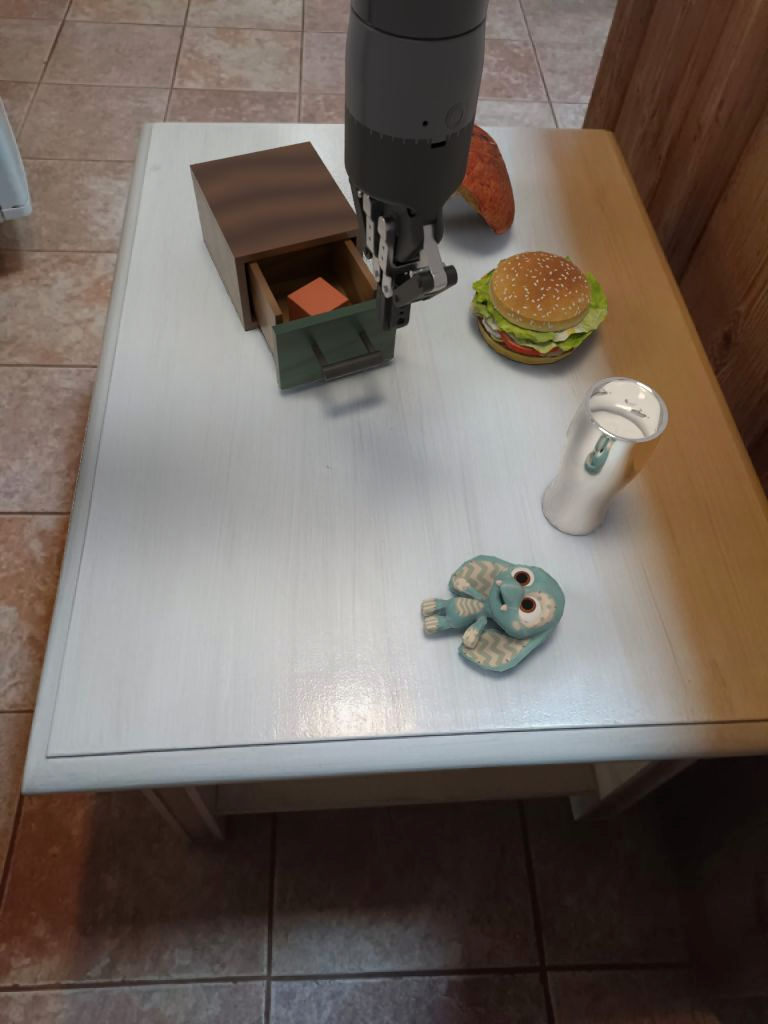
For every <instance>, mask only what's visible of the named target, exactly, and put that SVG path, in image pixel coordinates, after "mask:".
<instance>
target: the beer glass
mask: <svg viewBox="0 0 768 1024" xmlns="http://www.w3.org/2000/svg"><path fill="white" fill-rule="evenodd" d="M668 422H669V413H668V408H667V406H666V403H665V401H664V399H663V398H662V397H661V396H660V394H658V392H657V391H655V390H654V389H653V388H652V387H650V385H647V384H645V383H644V382H642V381H639V380H637V379H635V378H634V379H633V378H630V377H626V376H625V377H624V376H610V377H606V378H603V379H600V380H598V381H597V382H594V384H593V385H591V386H590V387H589V389H588V390H587V392H586V394H585V397H584V398H583V400H582V401H581V403H580V405H579V406H578V408H577V410H576V412H575V414H574V415H573V417H572V419H571V421H570V423H569V426H568V429H567V431H566V433H565V436H564V440H563V444H562V447H561V454H560V459H559V466H558V471H557V475H556V477H555V479H554V480H553V482H552V483H550V485H549V486H548V487H547V488H546V490H545V491H544V493H543V495H542V499H541V508H542V512H543V514H544V517H545V518H546V520H547V521H548V523H550V524H551V525H552V527H554V528H555V529H557V530H558V531H560V532H562V533H565V534H568V535H573V536H585V535H590V534H591V533H593V532H596V530H598V529H599V528H601V526H602V524H603V523H604V521H605V518H606V515H607V512H608V508H609V505H610V503H611V502H612V501H613V499H614V498H615V497H616V496H618V495H619V493H620V492H623V490H624V489H625V488H626V487H627V486H628V485H629V484H630V483H632V481H633V480H634V479H635V478H636V477H637V476H638V475H639V474H640V473H641V471H642V470H643V468H644V467H645V466H646V464H647V462H648V461H649V459H650V458H651V456H652V454H653V452H654V451H655V449H656V447H657V445H658V443H659V441H660V439H661V437H662V434H663V432H664V431H665V429H666V428H667V425H668Z"/></svg>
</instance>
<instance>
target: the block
mask: <svg viewBox="0 0 768 1024" xmlns="http://www.w3.org/2000/svg"><path fill="white" fill-rule="evenodd" d="M347 306H349V300H348V299H347V298H346V297H345V296H344V295H342V294H341V293H340V292H339V291H337V290H336V289H335V288H334V287H332V286H331V285H330V284H329V283H327V282H326V281H325V280H323V279H322V278H321V277H319V278H317V279H316V280H314V281H312V282H310V283H309V284H307V285H305V286H304V287H302V288H300V289H299V290H297V291H295V292H293V293H292V294H290V295H288V309H289V322H290V321H293V320H297V319H301V318H305V317H309V316H312V315H316V314H320V313H324V312H328V311H331V310H335V309H339V308H343V307H347Z"/></svg>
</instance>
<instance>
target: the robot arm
mask: <svg viewBox="0 0 768 1024" xmlns="http://www.w3.org/2000/svg"><path fill="white" fill-rule="evenodd" d="M489 2H490V0H350V4H349V16H348V25H347V32H346V40H345V51H344V53H345V54H344V135H343V136H344V139H343V140H344V141H343V143H344V146H343V147H344V149H343V151H344V153H343V156H344V157H343V160H344V161H343V164H344V169H345V172H346V175H347V177H348V184H349V186H350V191H351V196H352V202H353V207H354V212H355V213H356V216H357V221H358V225H359V230H360V235H361V240H362V245H363V255H364V256H365V258H366V259H367V260H372V275H373V277H374V279H375V281H376V282H377V296H376V313H375V317H376V318H377V320H378V322H379V324H380V325H381V327H382V329H383V330H384V331H391V330H394V329H396V330H398V329H401V328H404V327H407V326H408V325H409V323H410V317H411V309H412V304H415V303H418V302H425V301H428V300H431V299H433V298H434V297H436V296H438V295H440V294H441V293H443V292H445V291H446V290H448V289H450V288H452V287H453V286H456V285H457V284H458V280H459V275H458V271H457V268H456V267H455V265H453V264H449V265H446V263H445V261H442V257H441V253H440V249H439V244H440V243H441V241H443V237H444V233H445V232H444V230H445V226H444V217H443V214H444V212H443V208H444V206H445V204H446V203H447V202H448V201H447V200H448V199H449V198H450V196H451V195H452V194H453V193H454V192H455V191H456V190H457V189H458V188H459V187H460V185H461V184H462V182H463V180H464V178H465V175H466V170H467V164H468V158H469V152H470V145H471V139H472V133H473V127H474V123H475V120H476V114H477V107H478V101H479V97H480V96H479V95H480V89H481V85H482V84H481V83H482V78H483V77H482V76H483V72H484V63H485V54H486V53H485V50H486V26H487V17H488V15H487V13H488V9H489ZM446 201H447V202H446Z"/></svg>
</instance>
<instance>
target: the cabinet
mask: <svg viewBox="0 0 768 1024" xmlns="http://www.w3.org/2000/svg"><path fill="white" fill-rule="evenodd" d="M189 169H190V175H191V181H192V186H193V191H194V196H195V201H196V207H197V213H198V219H199V224H200V229H201V234H202V239H203V243H204V244H205V245H204V246H205V247H206V249H207V251H208V253H209V256H210V258H211V260H212V262H213V265H214V267H215V269H216V271H217V273H218V276H219V277H220V280H221V282H222V284H223V286H224V289H225V291H226V293H227V295H228V297H229V299H230V301H231V304H232V306H233V308H234V310H235V313H236V314H237V317H238V319H239V321H240V324H241V325H242V327H243V330H244V331H245V332H247V331H250V330H255V329H258V328H260V326H259V323H258V321H257V319H256V317H255V315H254V313H253V311H252V309H251V307H250V304H249V296H248V289H247V281H246V274H245V266H244V263H246V262H251V261H255V260H259V259H263V258H267V257H272V256H276V255H280V254H284V253H288V252H293V251H297V250H301V249H305V248H310V247H314V246H318V245H322V244H326V243H331V242H335V241H339V240H343V239H347V238H350V239H351V240H352V242H353V244H354V245H355V247H356V249H357V250H358V252H359V253H360V255H361V257H362V258H363V259H364V252H363V245H362V240H361V235H360V230H359V225H358V221H357V216H356V211H355V209H354V208H353V207H352V205H351V203H349V201H348V199H347V198H346V196H345V194H344V193H343V191H342V189H341V188H340V186H339V185H338V183H337V181H336V180H335V178H334V176H333V175H332V174H331V172H330V170H329V169H328V167H327V165H326V164H325V163H324V161H323V159H322V158H321V156H320V155H319V153H318V152H317V150H316V148H315V147H314V144H312V142H311V141H310V140H308V141H304V142H299V143H294V144H289V145H284V146H279V147H274V148H269V149H264V150H263V149H262V150H259V151H252V152H248V153H243V154H238V155H233V156H228V157H223V158H218V159H213V160H208V161H203V162H198V163H193V164H189Z"/></svg>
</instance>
